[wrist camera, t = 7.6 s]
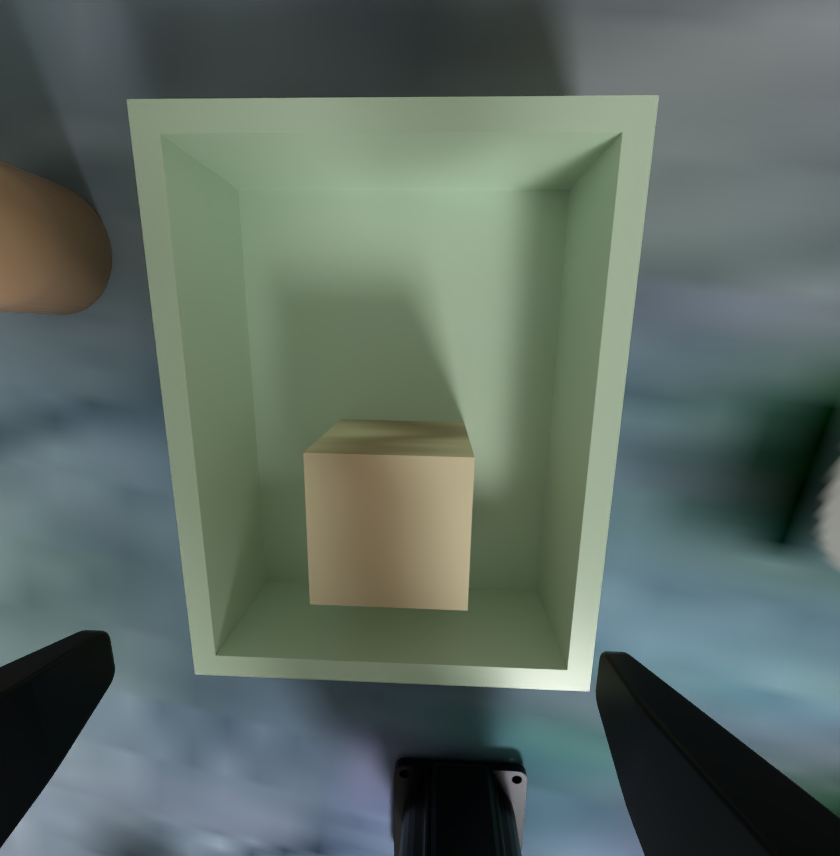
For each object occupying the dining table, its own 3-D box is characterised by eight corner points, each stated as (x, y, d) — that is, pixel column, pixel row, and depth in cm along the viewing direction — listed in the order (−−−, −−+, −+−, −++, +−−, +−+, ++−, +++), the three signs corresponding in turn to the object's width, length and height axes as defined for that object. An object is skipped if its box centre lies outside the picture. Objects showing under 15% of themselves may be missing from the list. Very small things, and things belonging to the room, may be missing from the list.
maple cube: (464, 422, 17) (474, 457, 12) (459, 536, 18) (467, 610, 13) (340, 419, 17) (303, 452, 12) (343, 532, 18) (309, 604, 14)
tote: (550, 600, 19) (589, 691, 14) (254, 590, 20) (195, 674, 15) (589, 170, 15) (658, 95, 11) (221, 170, 16) (126, 99, 11)
